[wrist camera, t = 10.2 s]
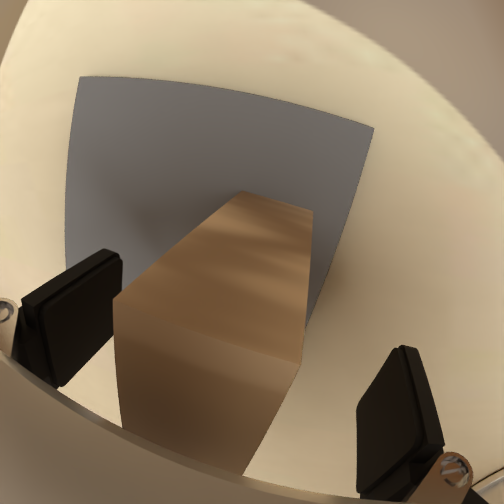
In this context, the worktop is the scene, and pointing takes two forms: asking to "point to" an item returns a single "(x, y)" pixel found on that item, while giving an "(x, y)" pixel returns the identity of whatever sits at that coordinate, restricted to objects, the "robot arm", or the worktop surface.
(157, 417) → the oak slab
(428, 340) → the worktop surface
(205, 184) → the rubber mat
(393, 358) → the robot arm
